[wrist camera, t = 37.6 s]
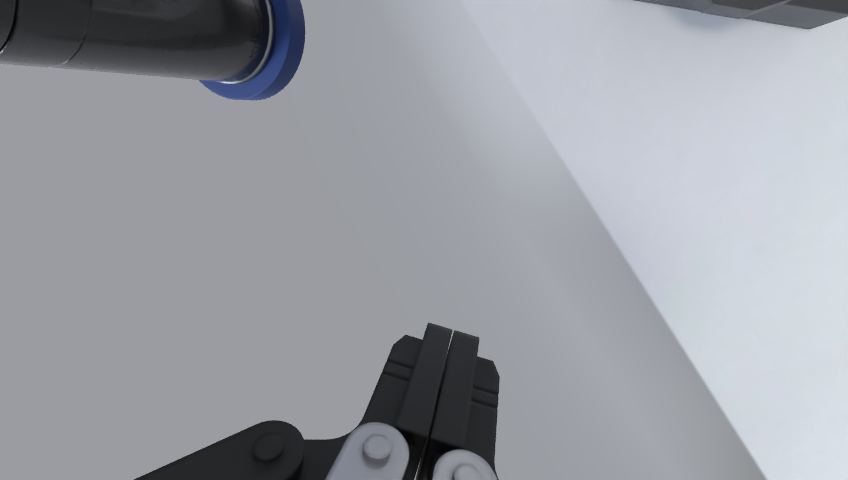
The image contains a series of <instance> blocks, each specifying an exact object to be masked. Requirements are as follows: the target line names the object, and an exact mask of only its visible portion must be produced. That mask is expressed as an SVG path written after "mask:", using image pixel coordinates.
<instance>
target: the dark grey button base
mask: <svg viewBox="0 0 848 480" xmlns="http://www.w3.org/2000/svg"><path fill="white" fill-rule="evenodd" d="M636 1H642V2H648V3H654V4H660V5H666V6H672V7H678V8H684V9H690V10H696V11H700V12H701V13H707V14H713V15H719V16H725V17H731V18H737V19H739V18H744V19H750V20H756V21H762V22H768V23H774V24H780V25H786V26H792V27H798V28H804V29H812V28H815V27H818V26H821V25H824V24H827V23H830V22H833V21H835V20H838V19H841V18H844V17H847V16H848V0H636Z"/></svg>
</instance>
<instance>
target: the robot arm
mask: <svg viewBox="0 0 848 480" xmlns="http://www.w3.org/2000/svg"><path fill="white" fill-rule="evenodd" d="M275 37H276V19H275V12H274V8H273V4H272V1H271V0H0V63H1V64H13V65H25V66H38V67H53V68H65V69H77V70H89V71H100V72H112V73H124V74H136V75H148V76H160V77H172V78H184V79H194V80H206V81H218V82H221V83H227V84H241V83H245V82H248V81H250V80H252V79H253V78H255V77H256V76H257V75H259V74H260V73H261V72H262V70H263V69H264V68H265V66H266V65H267V63H268V61H269V59H270V57H271V54H272V52H273V48H274V44H275ZM451 334H452V329H448V328H445V327H442V326H438V325H435V324H432V323H428V325H427V328H426V331H425V334H424V337H423V340H421V339H418V338H415V337H411V336H408V335H405V336H403V338H401V339H400V340H399V341H397V342H396V343H395V344H394V345H393V347H392V349H391V352H390V354H389V357H388V359H387V362H386V364H385V366H384V369H383V372H382V373H381V376H380V378H379V381H378V383H377V385H376V388H375V390H374V393H373V395H372V397H371V400H370V402H369V405H368V407H367V409H366V412H365V414H364V417H363V419H362V421H361V422H360V423H359V425H358V426H357V427H356V428H355V429H354V430H353V431H351V432H350V433H348V434H346V435H345V436H342V437H340V438H335V439H329V440H304V439H303V437H302V435H301V433H300V432H299V430H298V429H297V428H296V427H294V426H292V425H291V424H289V423H286V422H283V421H275V420H274V421H265V422H261V423H259V424H256V425H254V426H252V427H249V428H247V429H245V430H243V431H240V432H238V433H236V434H234V435H232V436H229V437H227V438H225V439H223V440H221V441H218V442H216V443H214V444H212V445H210V446H208V447H205V448H203V449H201V450H198V451H196V452H194V453H192V454H190V455H187V456H185V457H183V458H181V459H179V460H177V461H174V462H172V463H170V464H168V465H165V466H163V467H161V468H159V469H157V470H154V471H152V472H150V473H148V474H146V475H143V476H141V477H139V478H137V479H134V480H414V478H415V475H416V472H417V469H418V472H417V476H416V480H499V479H498V477H497V474H496V471H495V465H494V456H495V441H496V439H495V438H496V424H497V407H498V393H499V375H498V372H497V370H496V367H495V365H494V362H493V361H491V360H488V359H484V358H481V357H478V356H477V352H478V344H479V337H475V336H472V335H469V334H466V333H462V332H459V331H454V333H453V336H452V340H451V343H450V338H451ZM449 343H450V346H449ZM448 347H449V350H448ZM447 351H448V353H447ZM419 462H420V463H419ZM418 465H419V468H418Z"/></svg>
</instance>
